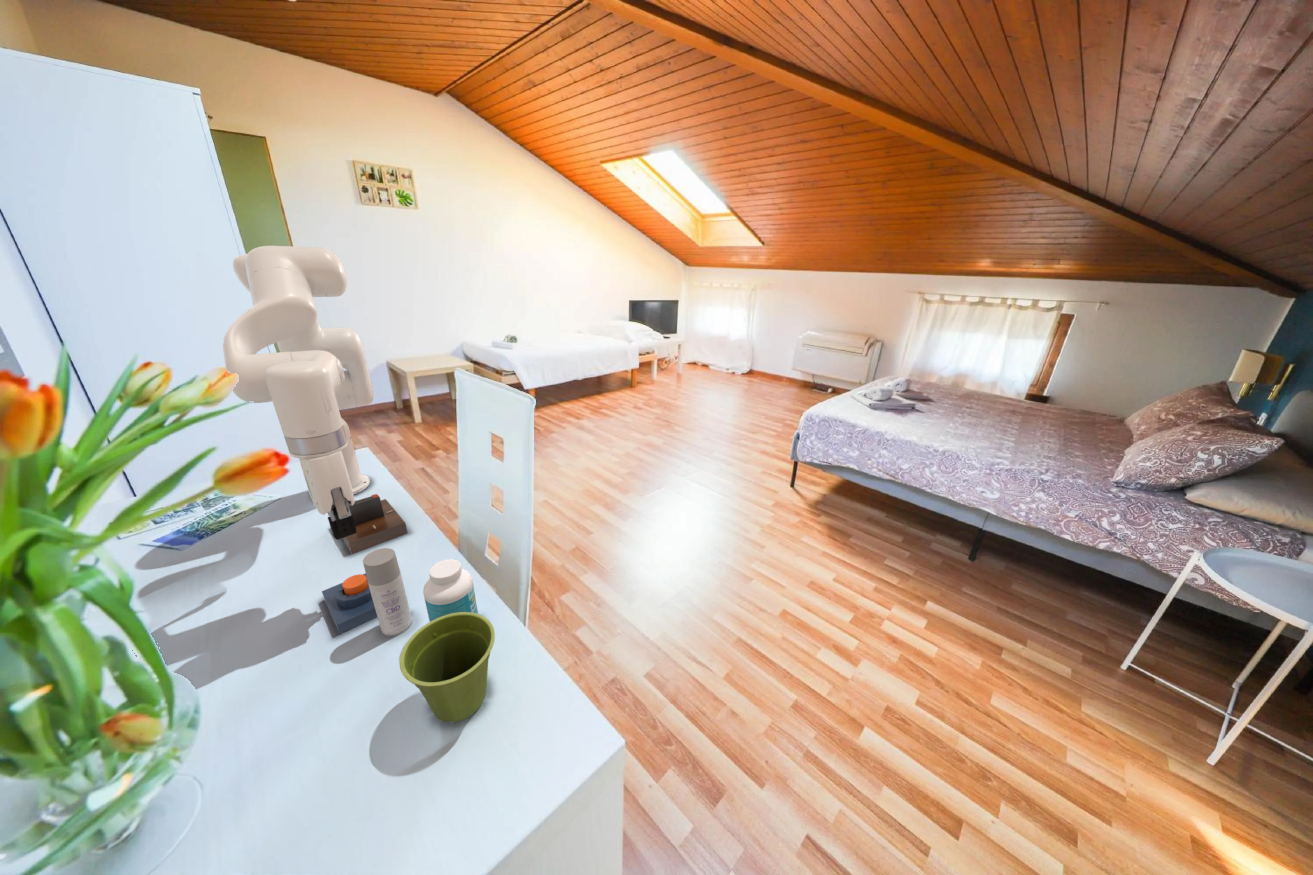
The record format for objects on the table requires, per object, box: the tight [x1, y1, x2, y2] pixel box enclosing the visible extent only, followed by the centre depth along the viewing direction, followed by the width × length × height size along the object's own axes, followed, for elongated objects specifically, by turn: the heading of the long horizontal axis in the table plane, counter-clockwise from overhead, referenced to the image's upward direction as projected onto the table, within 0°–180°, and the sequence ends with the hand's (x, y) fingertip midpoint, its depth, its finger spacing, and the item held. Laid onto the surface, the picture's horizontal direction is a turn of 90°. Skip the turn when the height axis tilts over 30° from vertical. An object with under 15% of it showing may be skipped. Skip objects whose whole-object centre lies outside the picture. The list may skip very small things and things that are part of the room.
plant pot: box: [399, 612, 496, 723], centre depth 61 cm, size 12×12×11 cm
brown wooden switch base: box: [342, 498, 408, 555], centre depth 99 cm, size 14×11×3 cm
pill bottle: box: [422, 558, 479, 622], centre depth 72 cm, size 8×7×14 cm
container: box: [362, 547, 413, 638], centre depth 72 cm, size 5×5×15 cm
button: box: [342, 573, 368, 596], centre depth 77 cm, size 4×4×2 cm
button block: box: [321, 572, 378, 635], centre depth 78 cm, size 11×9×4 cm
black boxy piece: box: [348, 493, 384, 525], centre depth 97 cm, size 6×2×5 cm, turn 135°
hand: (345, 534), depth 75 cm, fingers closed
